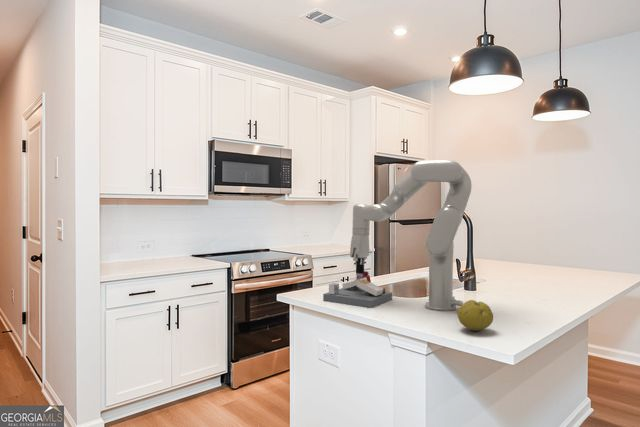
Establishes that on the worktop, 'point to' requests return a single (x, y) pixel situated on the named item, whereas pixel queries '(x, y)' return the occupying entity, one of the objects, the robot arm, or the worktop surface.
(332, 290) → the slider
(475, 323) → the fruit
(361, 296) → the panel
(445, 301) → the robot arm
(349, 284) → the rocker
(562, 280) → the worktop surface
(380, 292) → the rocker
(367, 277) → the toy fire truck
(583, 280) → the worktop surface
